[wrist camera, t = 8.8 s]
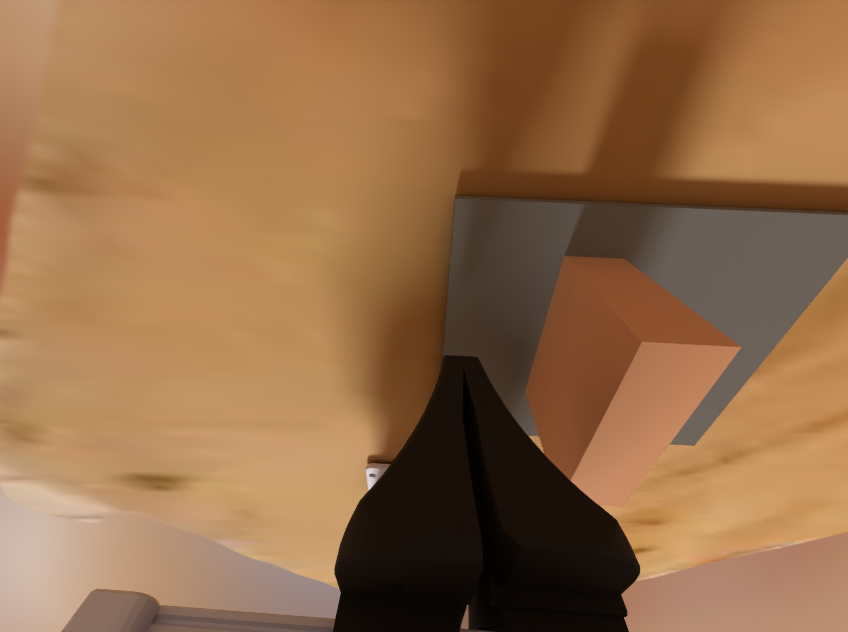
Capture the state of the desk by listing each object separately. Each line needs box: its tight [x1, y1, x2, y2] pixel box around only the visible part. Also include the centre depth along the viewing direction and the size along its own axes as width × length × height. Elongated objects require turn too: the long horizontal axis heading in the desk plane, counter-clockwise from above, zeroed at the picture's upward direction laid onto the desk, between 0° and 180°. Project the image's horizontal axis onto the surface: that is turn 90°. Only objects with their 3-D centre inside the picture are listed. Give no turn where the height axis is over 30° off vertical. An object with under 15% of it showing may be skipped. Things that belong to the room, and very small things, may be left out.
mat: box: [441, 195, 848, 446], centre depth 16 cm, size 14×16×1 cm
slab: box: [525, 256, 741, 507], centre depth 13 cm, size 8×2×6 cm, turn 178°
